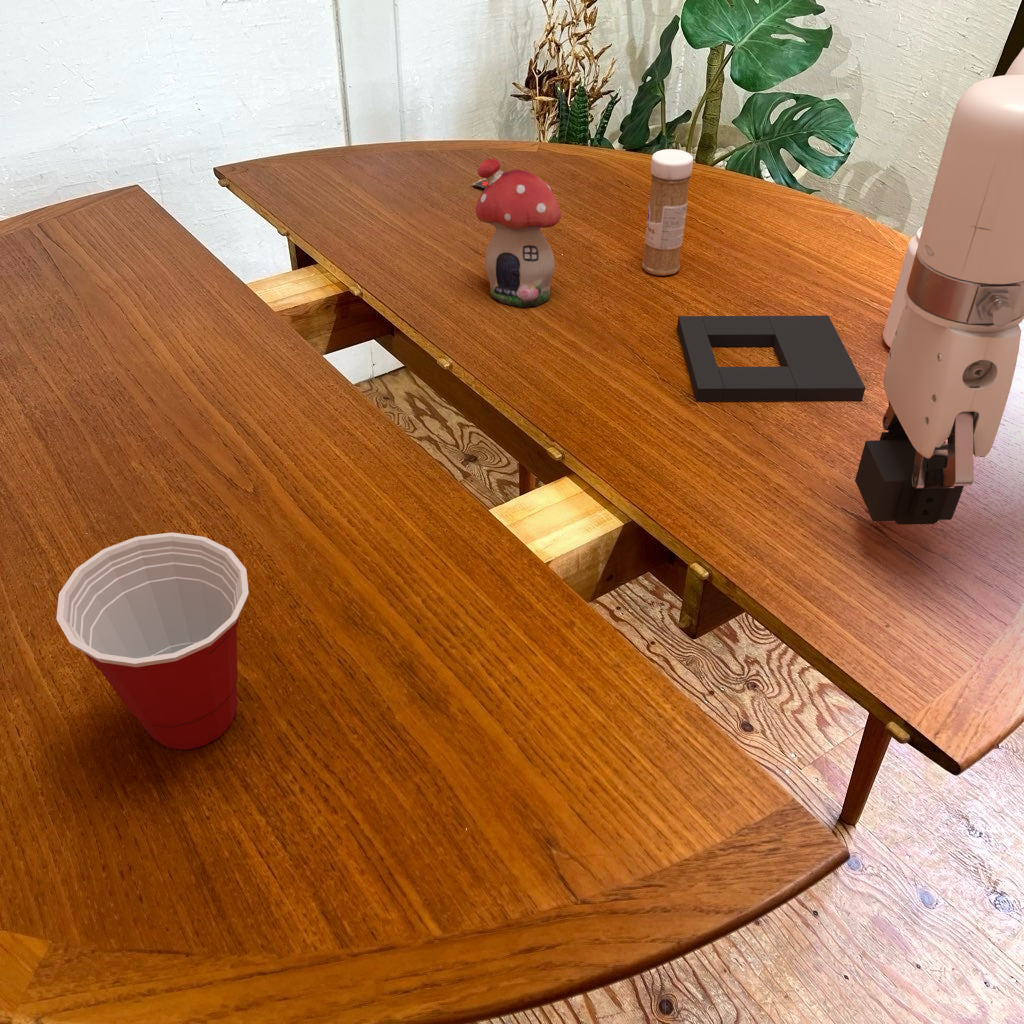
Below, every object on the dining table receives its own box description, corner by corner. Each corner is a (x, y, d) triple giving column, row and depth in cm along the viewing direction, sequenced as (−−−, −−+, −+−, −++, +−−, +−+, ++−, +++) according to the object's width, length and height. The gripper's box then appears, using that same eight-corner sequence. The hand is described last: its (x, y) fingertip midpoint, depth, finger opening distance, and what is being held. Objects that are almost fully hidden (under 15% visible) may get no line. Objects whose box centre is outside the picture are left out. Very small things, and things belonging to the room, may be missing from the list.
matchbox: (500, 194, 130) (500, 191, 130) (468, 187, 132) (468, 184, 132) (517, 183, 133) (517, 179, 133) (485, 176, 135) (485, 173, 135)
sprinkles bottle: (637, 261, 115) (647, 149, 106) (673, 258, 116) (686, 146, 107) (647, 279, 112) (658, 164, 103) (685, 276, 112) (699, 161, 104)
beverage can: (963, 373, 96) (1003, 261, 88) (879, 359, 98) (910, 249, 90) (962, 334, 102) (999, 226, 94) (882, 322, 104) (912, 215, 96)
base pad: (825, 327, 103) (828, 315, 102) (862, 400, 92) (865, 387, 91) (676, 328, 103) (678, 315, 102) (696, 401, 92) (698, 388, 91)
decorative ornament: (468, 293, 109) (463, 162, 99) (500, 271, 113) (498, 143, 104) (538, 315, 105) (540, 180, 96) (568, 291, 109) (573, 160, 100)
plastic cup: (269, 778, 60) (233, 652, 53) (94, 790, 60) (31, 664, 52) (286, 648, 69) (257, 522, 61) (132, 658, 68) (82, 532, 60)
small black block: (930, 478, 76) (943, 438, 74) (952, 520, 73) (967, 479, 70) (854, 480, 77) (865, 440, 74) (872, 522, 73) (884, 481, 70)
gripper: (1087, 351, 56) (993, 573, 68) (979, 226, 69) (916, 431, 81) (958, 354, 56) (887, 575, 68) (874, 229, 69) (826, 433, 81)
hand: (903, 495), depth 74 cm, fingers closed on small black block, 5 cm apart
